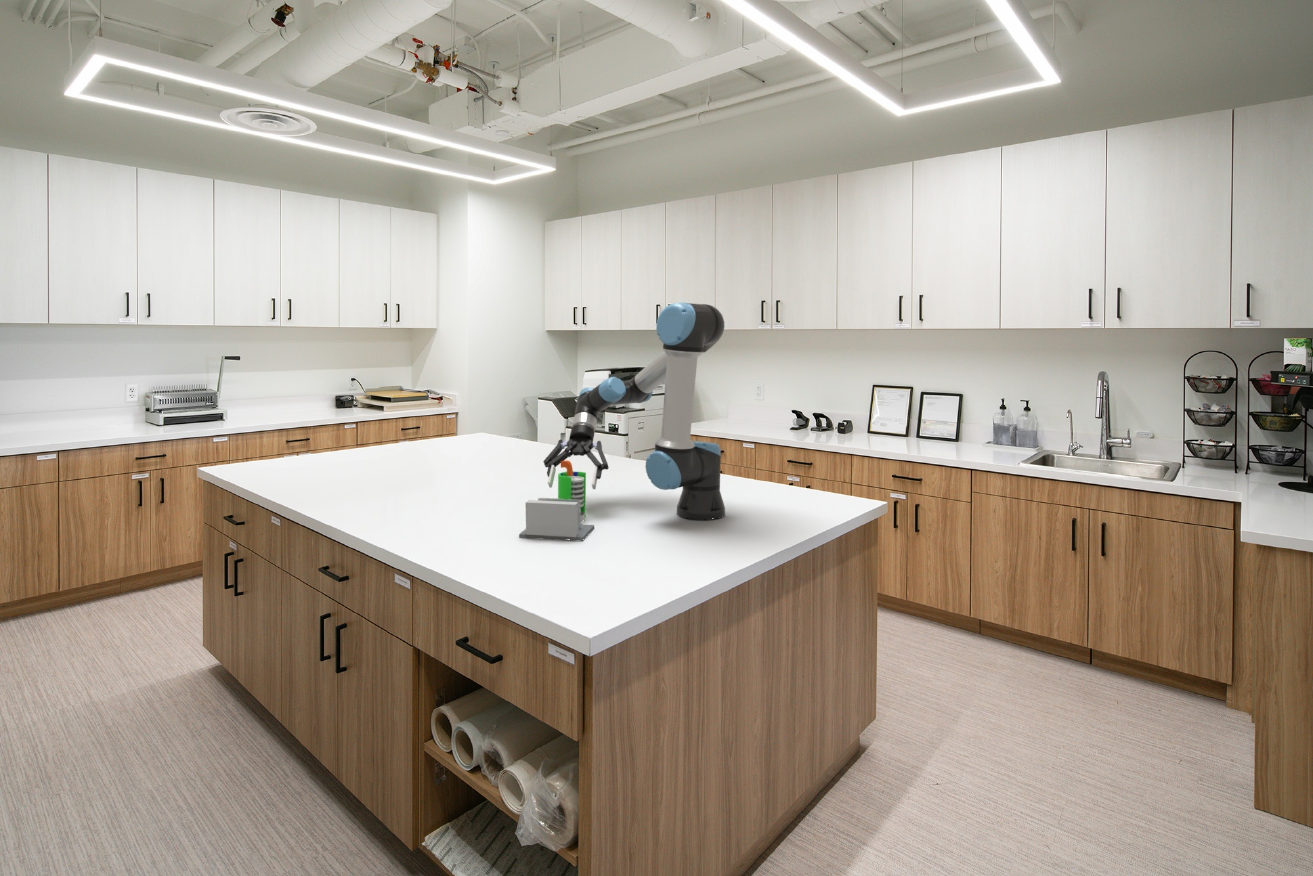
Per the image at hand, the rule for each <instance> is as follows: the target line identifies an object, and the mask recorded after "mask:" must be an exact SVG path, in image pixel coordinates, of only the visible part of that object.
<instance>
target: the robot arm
mask: <svg viewBox="0 0 1313 876" xmlns="http://www.w3.org/2000/svg"><path fill="white" fill-rule="evenodd" d="M655 329H656V334H657V336H658V338H659V340H660V341H661V342H662V343H663V344H662V350H663V351H662V352H661V353H660V354H659V355H657V357H655V358H654V359H653V360H652V361H650V362H649V363H648V364H647V365H646V366H645V367H644V368H642V369H641V370H640V371H639V372H638V373H637V374H636V375H634V376H633V377H632V378H631V379H629V380H621V379H620V378H617V376H611V377H608V378H607V379H604V380H603V381H602V382H601V383H599V384H598V385H596V386H595V387H591V386H590V387H585V388H583V389H581V390H580V392H579V395H578V397H577V399H576V400H577V401H576V406H575V410H574V411H575V412H574V416H573V420H572V425H571V429H570V434H569V437H568V441H563V439H558V441H557V444H556V445H555V446H554V448H553V449H552V450H551V451H550V452H549V454H548V455H547V456H546V457H545V459H544V460H543V461H542V462H543V465H544V468H547V471H546V475H547V477H548V480H547V485H548V487H549V488H553V485H554V481H555V476H556V467H558V466H559V465H561V461H566V459H568V458H570V457H572V456H577V457H578V456H580V457H581V456H582V457H584V456H587V458H589V459H590V461H591V462H592V463H593V465H594V469H593V475H592V481H591V488H592V490H596V488H597V483H598V480H600V479H601V477H602V475H603V474H602V473H603V470H608V469H609V464H608V461H607V459H606V456H605V454H604V450H603V446H602V445H603V444H602V441H601V440H597V442H594V437H595V432H596V429H597V428H596V427H597V422H598V417H599V414H600V413H602V412H604V410H606V409H608V408H609V407H611V406H617V405H627V404H628V405H629V404H642V403H646V402H648V401H650V399H651V398H652V395H653V393H654V392H653V391H654V390H656V389H657V388H658V387H660V386H661V384H663V383H665V384H664V385H665V386H664V397H663V406H662V407H663V409H662V422H661V432H660V433H661V434H660V437H659V438H658V439H657V440H656V441H655V442H654V443H655V444H654V451H652V452H651V453H650V454H649V455H648V456H647V457H646V460H645V472H646V474H647V478H648V479H649V480H650V482H651V484H652V485H653V486H654V487H656V488H658V489H659V490H664V491H667V490H677V489H679V488H682V491H681V493H680V497H679V500H678V502H677V506H676V515H677V516H678V515H679V516H678V517H681V518H684V519H687V518H690V519H689V520H695V519H697V520H698V521H699V520H700V519H702V520H700V521H705V520H704V519H711V520H713V519H712V518H718V519H720V518H719V517H721V518H723V517H725V516H726V507H725V503H724V500H723V497H722V494H721V459H722V455H721V446H720V445H719V444H718V443H716V442H709V441H698V440H691V433H692V421H693V409H694V400H695V390H696V389H695V387H696V377H697V367H698V366H697V365H698V358H699V357H700V356H701V355H703V354H704V353H706V352H707V351H709V350H710V349H712V347H714V346H715V345H716V344H717V343H718V342H719V341H720V339H721V338H722V337H723V334H724V331H725V320H724V317H723V314H722V313H721V311H720V310H719V309H718V308H716V307H715V306H713V305H710V304H706V303H705V304H704V303H692V302H691V303H689V302H673V303H670V304H668V305H667V306H665V307H664V309H662V310H661V312H660V313H659V315H658V317H657V321H656V326H655ZM593 448H594V449H595V450H596V451H597V453H598V456H599V457H600V460H601V462H600V461H599V459H598V458H597V457H596V455H595V454H594V453H593V452H592V449H593ZM724 515H725V516H724ZM722 516H723V517H722ZM697 520H696V521H697Z"/></svg>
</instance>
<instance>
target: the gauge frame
mask: <svg viewBox="0 0 1313 876" xmlns="http://www.w3.org/2000/svg"><path fill="white" fill-rule="evenodd" d="M594 529H595V524H581V527H580V528H578V502H563V501H540V500H538V499H529V500H527V501H526V502H525V528H524V530H523V531H521V532H520V533H519V534H518V538H520V539H535V538H543V539H542V540H554V539H570V540H569V541H573V540H582V541H581V542H584V540H585V539H586V538H587V537H588V536H589V535H590V534H591V532H592V531H593V530H594ZM589 533H590V534H589ZM588 534H589V535H588ZM586 536H587V537H586ZM583 539H584V540H583Z"/></svg>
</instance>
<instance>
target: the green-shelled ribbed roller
mask: <svg viewBox="0 0 1313 876" xmlns="http://www.w3.org/2000/svg"><path fill="white" fill-rule="evenodd" d="M560 468H563V469H564V468H565V469H566V471H563V472H559V473H558V476H557V481H558V482H557V499H580V506H581V523H583V522H584V521H585V518H586V506H587V505H586V501H587V500H586V498H587V497H586V492H587V489H586V487H587V485H586V484H587V483H586V481H587V473H586V472H584V471H574V470H573V465H572V462H571V461H570V460H564V461H561V463H560ZM583 520H584V521H583ZM582 521H583V522H582Z"/></svg>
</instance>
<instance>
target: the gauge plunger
mask: <svg viewBox="0 0 1313 876" xmlns="http://www.w3.org/2000/svg"><path fill="white" fill-rule="evenodd" d="M537 500H540V501H563V502H578V528H580V527H581V523H582V522H581V506H580V499H558V497H557V498H555V497H553V498H552V497H539V498H538V497H537Z"/></svg>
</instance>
